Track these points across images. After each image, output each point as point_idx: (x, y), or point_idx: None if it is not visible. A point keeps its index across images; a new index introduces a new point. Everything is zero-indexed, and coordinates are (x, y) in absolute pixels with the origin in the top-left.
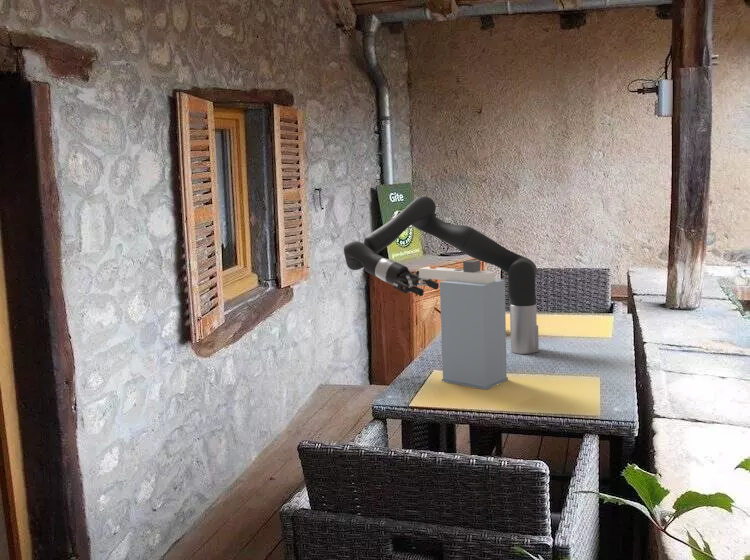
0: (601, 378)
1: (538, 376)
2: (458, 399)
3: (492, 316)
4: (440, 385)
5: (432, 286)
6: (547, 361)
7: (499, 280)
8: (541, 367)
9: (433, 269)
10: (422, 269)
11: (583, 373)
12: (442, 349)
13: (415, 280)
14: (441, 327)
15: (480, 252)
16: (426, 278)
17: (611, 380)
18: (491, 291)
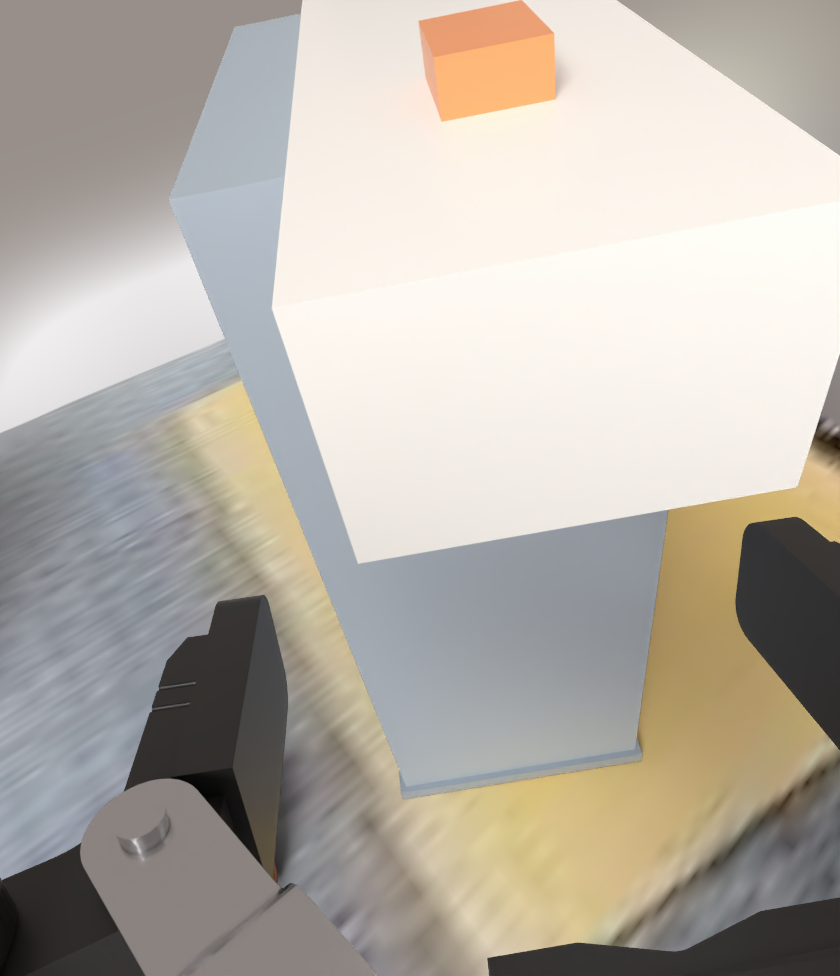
0: (192, 399)
1: (270, 517)
2: (747, 516)
3: None
4: (694, 711)
5: (272, 748)
6: (29, 623)
7: (278, 22)
8: (137, 583)
9: (614, 21)
10: (787, 153)
11: (159, 452)
12: (646, 645)
13: (680, 954)
14: (663, 537)
15: None
16: (203, 848)
17: (200, 377)
18: None
